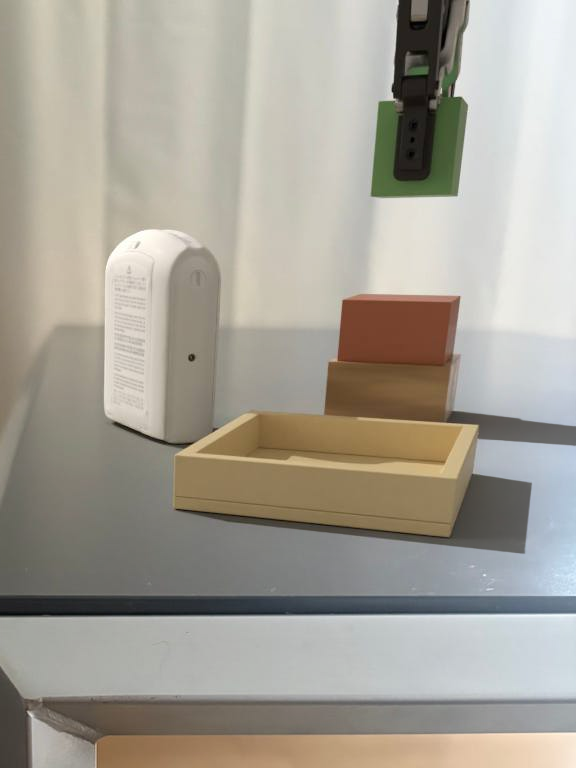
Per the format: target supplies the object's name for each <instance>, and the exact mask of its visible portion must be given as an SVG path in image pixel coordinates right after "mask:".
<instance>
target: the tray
mask: <svg viewBox="0 0 576 768" xmlns="http://www.w3.org/2000/svg"><path fill="white" fill-rule="evenodd" d="M479 430H480V425H479V424H470V423H469V424H468V423H456V422H455V423H452V422H446V423H440V422H424V421H409V420H393V419H378V418H363V417H347V416H332V415H324V414H315V413H299V412H287V411H286V412H283V411H281V412H280V411H269V410H254V409H251V410H249V411H248V412H247V411H246V412H245V413H244V414H242V415H240V416H238V417H237V418H235V419H234V420H232V421H230V422H229V423H226V424H225V425H223V426H222V427H219V428H218V429H216V430H214V431H212V433H211V434H210V435H208V436H206V437H204V438H203V439H201V440H199V441H198V442H195V443H191V444H190V445H189V446H187V447H186V448H184V449H182V450H180V451H179V452H178V453H175V454H174V461H173V462H174V464H173V465H174V466H173V468H174V469H173V470H174V471H173V498H172V500H173V501H172V502H173V503H172V508H173V509H174V510H183V511H184V510H185V511H194V512H203V513H214V514H222V515H232V516H240V517H241V516H242V517H249V518H260V519H270V520H279V521H289V522H298V523H307V524H317V525H327V526H334V527H335V526H337V527H345V528H355V529H364V530H374V531H382V532H383V531H384V532H392V533H402V534H412V535H420V536H421V535H423V536H432V537H439V538H440V537H441V538H450V537H451V534H452V532H453V529H454V525H455V523H456V520H457V517H458V515H459V512H460V509H461V507H462V503H463V502H464V501H463V500H464V498H465V495H466V493H467V490H468V486H469V484H470V481H471V478H472V475H473V473H474V467H475V458H476V452H477V445H478V439H479V433H480V431H479Z"/></svg>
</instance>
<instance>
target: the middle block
mask: <svg viewBox="0 0 576 768" xmlns="http://www.w3.org/2000/svg"><path fill="white" fill-rule="evenodd" d="M461 298H462V297H461V295H439V294H438V295H436V294H432V295H431V294H392V293H391V294H390V293H389V294H387V293H386V294H385V293H380V294H379V293H378V294H377V293H359V294H355V295H353V296H350V297H347V298H343V299H342V300H341V310H340V313H341V314H340V321H339V323H340V324H339V335H338V346H337V356H336V357H337V361H351V362H373V363H396V364H418V365H441V366H443V365H444V364H445V363H446V362H447V361H448V359H449V358H450V357H451V356H452V355H453V354H454V351H455V344H456V343H455V342H456V335H457V329H458V328H457V327H458V320H459V319H458V318H459V311H460V304H461Z"/></svg>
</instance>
